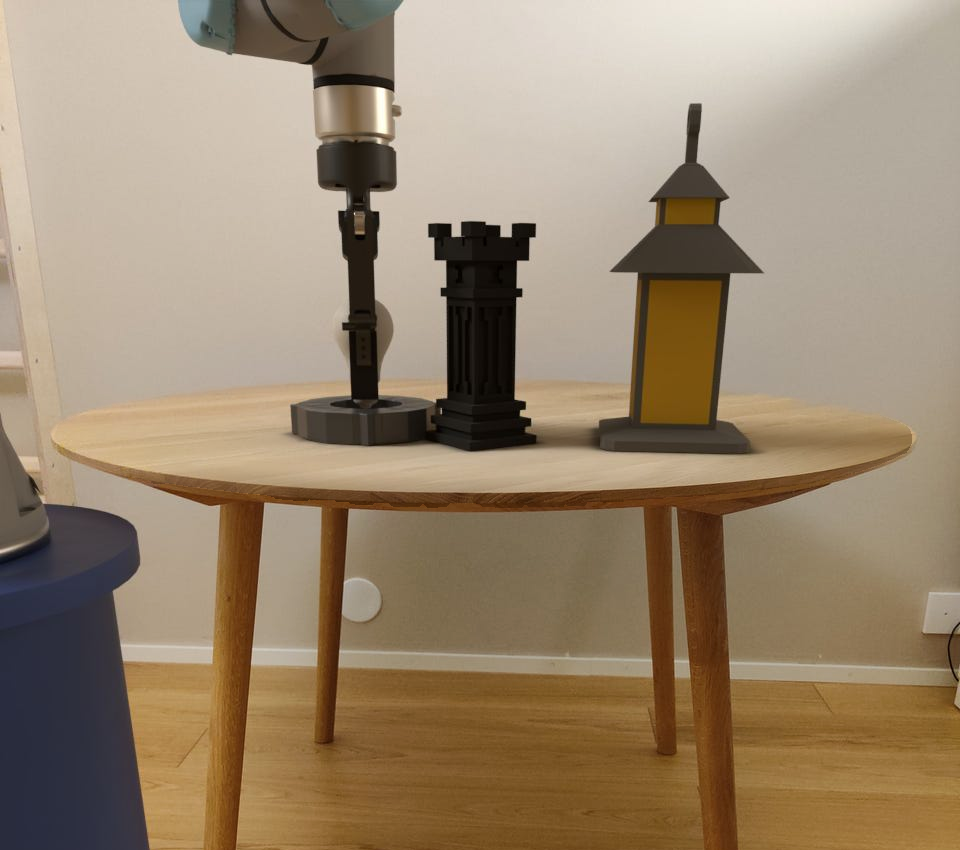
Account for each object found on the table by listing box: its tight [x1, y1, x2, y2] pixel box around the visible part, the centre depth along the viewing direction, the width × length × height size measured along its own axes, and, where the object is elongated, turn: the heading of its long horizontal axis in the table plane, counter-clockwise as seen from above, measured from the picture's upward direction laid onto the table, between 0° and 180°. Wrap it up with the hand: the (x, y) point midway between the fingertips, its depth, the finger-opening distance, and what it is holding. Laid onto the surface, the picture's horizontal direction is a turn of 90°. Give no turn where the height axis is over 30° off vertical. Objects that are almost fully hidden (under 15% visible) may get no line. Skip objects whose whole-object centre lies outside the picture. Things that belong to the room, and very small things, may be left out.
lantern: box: [598, 102, 765, 455], centre depth 91 cm, size 14×14×30 cm
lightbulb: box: [332, 298, 395, 409], centre depth 97 cm, size 6×6×11 cm
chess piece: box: [425, 220, 538, 452], centre depth 92 cm, size 8×8×20 cm
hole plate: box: [289, 394, 442, 446], centre depth 99 cm, size 14×14×3 cm
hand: (364, 394), depth 98 cm, fingers closed on lightbulb, 6 cm apart
